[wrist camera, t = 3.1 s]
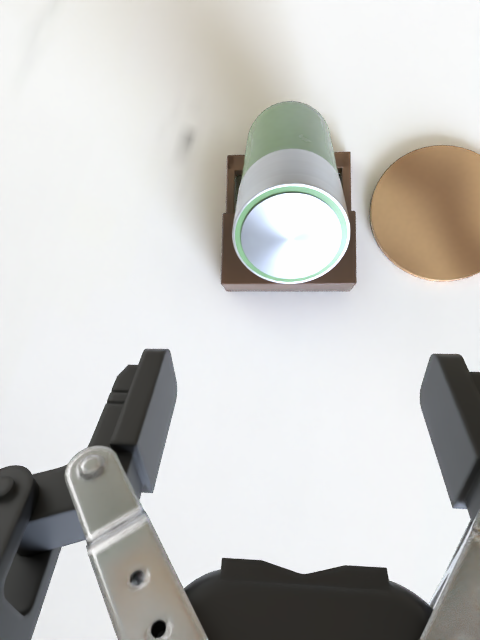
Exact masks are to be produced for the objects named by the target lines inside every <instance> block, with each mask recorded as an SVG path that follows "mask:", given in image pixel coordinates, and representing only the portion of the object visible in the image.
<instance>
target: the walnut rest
mask: <svg viewBox="0 0 480 640" xmlns="http://www.w3.org/2000/svg"><path fill="white" fill-rule="evenodd" d="M334 156H335V161H336V165H337V170H338V173H340V181H341V185H342V189H343V194H344V198H345V203H346V208H347V212H348V217H349V221H350V229H351V231H350V240H349V244H348V247H347V250H346V251H345V253H344V255H343V257H342V258H341V259H340V261H339V262H338V263H337V264H336V265H335V266H334V267H333V268H332V269H331V270H330V271H328V272H327V273H325V274H324V275H322V276H320V277H318V278H316V279H313V280H310V281H307V282H303V283H296V284H283V283H276V282H272V281H268V280H266V279H263V278H261V277H259V276H257V275H256V274H254V273H253V272H251V271H250V270H249V269H248V268H247V267H246V266H245V265H244V264H243V263H242V262H241V260H240V259H239V257H238V255H237V253H236V251H235V248H234V245H233V240H232V229H233V223H234V217H235V210H236V176H242V172H243V165H244V159H245V155H228V156H227V193H226V213H223V223H222V269H221V284H222V285H223V287H224V288H225V290H226V291H350V290H351V289H352V288H353V287H354V285H355V284H356V216H355V211H351V164H350V152H334Z"/></svg>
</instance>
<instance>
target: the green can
mask: <svg viewBox="0 0 480 640" xmlns="http://www.w3.org/2000/svg"><path fill="white" fill-rule="evenodd" d="M350 231H351V229H350V221H349V217H348V212H347V208H346V203H345V198H344V194H343V189H342V185H341V181H340V178H339V175H338V170H337V165H336V161H335V156H334V151H333V146H332V142H331V137H330V132H329V129H328V126H327V124H326V122H325V120H324V118H323V117H322V116H321V115H320V113H319V112H317V111H316V110H315V109H314V108H312V107H311V106H309V105H307V104H304V103H301V102H295V101H287V102H281V103H277V104H275V105H272V106H271V107H269V108H267V109H266V110H264V111H263V112H262V113H261V114H260V115H259V116H258V117H257V118H256V120H255V121H254V123H253V124H252V126H251V129H250V131H249V135H248V140H247V146H246V153H245V159H244V165H243V172H242V178H241V184H240V187H239V192H238V198H237V204H236V210H235V217H234V223H233V229H232V240H233V245H234V248H235V251H236V253H237V255H238V257H239V259H240V260H241V262H242V263H243V264H244V265H245V266H246V267H247V268H248V269H249V270H250V271H251V272H253V273H254V274H256V275H257V276H259V277H261V278H263V279H266V280H268V281H272V282H276V283H283V284H296V283H303V282H307V281H310V280H313V279H316V278H318V277H320V276H322V275H324V274H325V273H327V272H328V271H330V270H331V269H332V268H333V267H334V266H335V265H336V264H337V263H338V262H339V261H340V259H341V258H342V257H343V255H344V253H345V251H346V250H347V247H348V244H349V240H350Z"/></svg>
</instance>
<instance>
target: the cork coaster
mask: <svg viewBox="0 0 480 640" xmlns="http://www.w3.org/2000/svg"><path fill="white" fill-rule="evenodd" d="M370 222H371V227H372V231H373V234H374V237H375V239H376V241H377V243H378V245H379V247H380V248H381V250H382V251H383V253H384V254H385V255H386V256H387V257H388V259H389V260H390V261H392V262H393V263H394V264H395V265H396V266H397V267H399V268H400V269H402V270H403V271H405V272H407V273H409V274H411V275H413V276H416V277H419V278H422V279H426V280H430V281H455V280H460V279H464V278H468V277H470V276H473V275H475V274H477V273H479V272H480V155H479V154H477V153H475V152H473V151H471V150H468V149H464V148H461V147H456V146H447V145H439V146H430V147H424V148H421V149H418V150H415V151H412V152H410V153H408V154H406V155H404V156H403V157H401V158H399V159H398V160H397V161H396V162H394V163H393V164H392V165H391V166H390V167H389V168H388V169H387V170H386V171H385V173H384V174H383V175H382V177H381V178H380V180H379V182H378V184H377V185H376V188H375V190H374V193H373V196H372V200H371V205H370Z"/></svg>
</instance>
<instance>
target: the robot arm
mask: <svg viewBox="0 0 480 640" xmlns="http://www.w3.org/2000/svg"><path fill="white" fill-rule="evenodd" d="M176 397H177V382H176V377H175V372H174V367H173V363H172V358H171V353H170V351H169V349H145V350H144V351H143V354H142V356H141V359H140V362H139V364H138V365H128V366H127V367H126V368H125V369H124V370H123V371H122V372H121V373H120V374H119V375H118V376H117V378H116V381H115V383H114V385H113V388H112V392H111V393H110V395H109V398H108V400H107V404H106V405H105V407H104V410H103V412H102V414H101V417H100V419H99V422H98V424H97V427H96V429H95V431H94V434H93V436H92V439H91V441H90V443H89V445H88V447H87V448H86V449H84V450H82V451H80V452H79V453H77V454H76V455H75V456H74V457H73V458H72V459H71V460H70V462H69V463H68V465H65V466H63V467H60V468H56V469H53V470H49V471H45V472H41V473H37V474H33V475H32V474H31V472H30V471H29V470H28V469H27V468H25V467H23V466H17V465H15V466H8V467H5V468H2V469H0V640H31V638H32V635H33V632H34V629H35V626H36V623H37V620H38V617H39V614H40V611H41V608H42V605H43V602H44V599H45V596H46V593H47V590H48V587H49V583H50V580H51V577H52V574H53V571H54V568H55V565H56V562H57V559H58V556H59V553H60V550H61V547H62V546H66V545H69V544H73V543H76V542H80V541H83V540H86V541H87V546H86V547H87V552H88V555H89V558H90V561H91V564H92V567H93V570H94V572H95V575H96V578H97V581H98V584H99V587H100V590H101V593H102V595H103V598H104V601H105V604H106V607H107V610H108V613H109V615H110V618H111V621H112V624H113V627H114V630H115V633H116V636H117V638H118V640H480V372H469V370H468V368H467V366H466V364H465V362H464V359H463V358H462V356H461V355H459V354H432V355H431V357H430V359H429V362H428V366H427V369H426V372H425V376H424V379H423V382H422V385H421V389H420V404H421V409H422V412H423V415H424V419H425V422H426V425H427V428H428V431H429V434H430V438H431V441H432V444H433V447H434V450H435V453H436V457H437V460H438V463H439V466H440V469H441V472H442V476H443V479H444V482H445V485H446V488H447V491H448V495H449V498H450V501H451V504H452V507H453V508H458V509H468V512H469V515H470V518H471V520H470V522H469V524H468V526H467V528H466V530H465V532H464V534H463V536H462V538H461V540H460V542H459V544H458V547H457V549H456V551H455V553H454V555H453V557H452V559H451V561H450V563H449V565H448V567H447V569H446V571H445V573H444V575H443V577H442V579H441V581H440V583H439V585H438V587H437V589H436V591H435V593H434V595H433V596H432V598H431V600H430V602H429V604H427V603H426V602H425V601H424V600H422V599H421V598H420V597H419V596H417V595H416V594H415V593H413V592H411V591H410V590H408V589H407V588H405V587H403V586H401V585H399V584H397V583H395V582H392V581H389V579H388V574H387V568H380V567H363V566H347V565H345V566H340V567H336V568H331V569H327V570H323V571H318V572H314V573H309V574H300V573H296V572H294V571H291V570H288V569H285V568H282V567H279V566H276V565H273V564H271V563H268V562H265V561H262V560H247V559H231V558H222V565H221V570H217V571H213V572H210V573H208V574H205V575H203V576H201V577H200V578H198V579H196V580H194V581H193V582H192V583H190V584H189V585H188V586H186V587H185V588H184V589H183V587H182V585H181V582H180V580H179V578H178V576H177V574H176V572H175V570H174V568H173V566H172V564H171V562H170V560H169V558H168V556H167V554H166V552H165V550H164V548H163V546H162V544H161V542H160V540H159V538H158V535H157V533H156V531H155V529H154V527H153V525H152V523H151V521H150V519H149V517H148V515H147V513H146V512H145V511H144V510H143V508H142V506H141V504H140V502H139V499H140V496H141V492H144V493H153V490H154V486H155V482H156V478H157V474H158V470H159V466H160V462H161V458H162V454H163V450H164V446H165V442H166V438H167V434H168V430H169V426H170V422H171V418H172V414H173V410H174V407H175V403H176Z"/></svg>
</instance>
